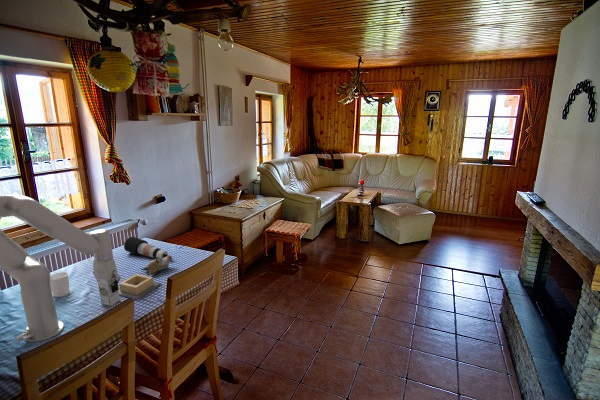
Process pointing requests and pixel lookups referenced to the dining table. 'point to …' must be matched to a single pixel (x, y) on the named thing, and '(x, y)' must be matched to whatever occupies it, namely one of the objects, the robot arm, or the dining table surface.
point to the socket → (137, 286)
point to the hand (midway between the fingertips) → (109, 289)
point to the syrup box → (107, 292)
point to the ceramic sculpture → (157, 265)
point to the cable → (144, 248)
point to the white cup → (59, 284)
